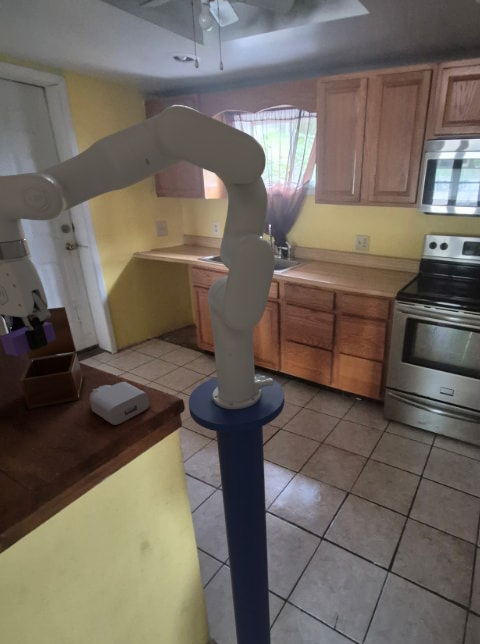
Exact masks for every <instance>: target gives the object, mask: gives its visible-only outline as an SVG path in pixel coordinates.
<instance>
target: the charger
mask: <svg viewBox="0 0 480 644" xmlns="http://www.w3.org/2000/svg"><path fill="white" fill-rule="evenodd" d="M91 391H92V392H91V393H90V394H89V404H90V407H91V411H92V412H93V413H94V414H96V415H97V416H99V417H101V418H102V419H104V420H105V421H107V422H108V423H110V424H111V425H113V426H117V425H120V424H122V423H124V422H126V421H127V420H129V419H131V418H133V417H135V416H137V415H139V414H140V413H142V412H145V411H146V410H147V409H148V408H149V407H150V402H149V396H148V393H147V392H145V391H143V390H141V389H139V388H138V387H136V386H134V385H132V384H130V383H129V382H127V381H120V382H118V383H116V384H113V385H111V384H110V385H109V384H104V385H99V386H98V387H97V388H92V389H91Z"/></svg>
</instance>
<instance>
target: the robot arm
mask: <svg viewBox="0 0 480 644" xmlns="http://www.w3.org/2000/svg"><path fill="white" fill-rule="evenodd" d="M183 162H186V163H188V164H191V165H193V166H196V167H198V168H201V169H203V170H206V171H208V172H210V173H213V174H215V175H216V177H217V178H218V179H219V180H220V181H221V182H222V184H223V185H224V188H225V189H226V193H227V210H226V217H225V223H224V229H223V233H222V238H221V243H220V248H219V258H220V261H221V263H222V264H223V265H224V266H225V268H227V269H228V273H227V275H224V276H221V277H219V278H217V279H216V280H214V281H213V282H212V283H211V285H210V287H209V289H208V292H207V305H208V311H209V315H210V322H211V328H212V337H213V349H214V360H215V370H216V377H217V383H218V387H217V388H216V389H215V390H214V392H213V395H212V396H213V401H214V403H215V404H217V405H218V406H220V407H222V408H226V409H242V408H246V407H249V406H251V405H253V404H255V403H256V402H258V401H259V399H260V398H261V389H262V387H267V386H272V385H273V380H274V379H273V378H271V377H269V378H270V379H265V376H266V375H264V376H261V377H257V378H256V377H255V374H256V372H255V352H254V349H255V348H254V329H253V328H255V327H256V326H257V325H258V324H259V323H260V321H261V320H262V318H263V316H264V313H265V311H266V307H267V304H268V300H269V295H270V290H271V287H272V282H273V278H274V273H275V268H276V257H275V252H274V249H273V247H272V245H271V244H270V243H269V241H268V240H266V239H265V238H264V233H265V227H266V221H267V216H268V207H269V199H268V192H267V187H266V184H265V182H264V179H263V177H262V175H263V174H264V172H265V169H266V164H267V157H266V152H265V150H264V148H263V146H262V144H261V142H259V141H258V140H257V139H256V138H255V137H254V136H253V135H250V134H249V133H247V132H245V131H243V130H241V129H238V128H236V127H234V126H231V125H229V124H228V123H225V122H223V121H220V120H218V119H216V118H214V117H212V116H210V115H207V114H205V113H203V112H201V111H199V110H196V109H194V108H192V107H190V106H186V105H182V104H173V105H170V106H167V107H166V108H165V109H163V110H162V111H161V112H160V113H158V114H156V115H154V116H152V117H149V118H146V119H145V120H142V121H140V122H137V123H136V124H133V125H131V126H129V127H125V128H123V129H121V130H118V131H116V132H113V133H111V134H108V135H106V136H103V137H102V138H99V139H98V140H96V141H95V142H93V143H92V144H91V145H90V146H89V147H88V148H86V149H85V150H84V151H82V152H80V153H78V154H76V155H74V156H73V157H70V158H68V159H66V160H64V161H62V162H59V163H57V164H55V165H52V166H50V167H48V168H45V169H43V170H40V171H38V172H37V171H36V172H25V173H19V174H10V175H2V174H0V316H1V318H2V319H3V320H4V321H5V325H6V327H8V328H9V331H10V332H13V331H15V330H18V329H21V328H24V327H26V328H27V331H25V333H26V337H27V340H28V343H29V346H30V349H31V350H36V349H39V348H41V347H43V346H45V345H47V344H48V342H47V339H46V335H45V332H44V328H43V326H45V323H44V322H45V320H47V319H48V318H50V317H51V314H50V312H49V311H48V309H49V302H48V298H47V294H46V291H45V287H44V285H43V281H42V279H41V277H40V274H39V272H38V269H37V266H36V265H35V263H34V261H33V258H32V256H31V255H32V254H31V251H30V248H29V244H28V241H27V237H26V233H25V230H24V226H23V222H22V220H31V221H51V220H53V219H55V218H57V217H59V216H60V215H61V214H62V213H64V212H66V211H69V210H70V209H73V208H74V207H76V206H79V205H81V204H83V203H86V202H87V201H90V200H92V199H94V198H97V197H100V196H101V195H104V194H107V193H109V192H114V191H120V190H123V189H126V188H129V187H131V186H134V185H136V184H138V183H140V182H142V181H144V180H146V179H149V178H151V177H154V176H155V175H158V174H160V173H161V172H164V171H167V170H168V169H170V168H173V167H175V166H177V165H179V164H182V163H183ZM31 316H35V317H34V318H33V319H32V321H31V319H30V317H31ZM272 379H273V380H272Z"/></svg>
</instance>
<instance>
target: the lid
mask: <svg viewBox="0 0 480 644" xmlns="http://www.w3.org/2000/svg"><path fill="white" fill-rule="evenodd" d="M47 309H48V311H49V312H50V314H51V317H50V318H48V319H47V320H45V322H48V323H52V326H53V330H54V334H55V337H56V340H54V341H51V342H49V343H48V344H47V345H45V346H43V347H41V348H39V349H36V350H30V351H28V352H26V354H27V358H28V359H29V360H32V359H38V358H45V357H52V356H58V355H65V354H72V353H77V348H76V345H75V340H74V337H73V333H72V329H71V325H70V321H69V317H68V314H67V313H68V312H67V309H66V306H61V307H51V308H50V307H49V308H47ZM34 317H35V316H31V317H30V319H31V321H32V319H33V318H34Z"/></svg>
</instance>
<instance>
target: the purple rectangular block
mask: <svg viewBox="0 0 480 644" xmlns="http://www.w3.org/2000/svg"><path fill="white" fill-rule="evenodd" d="M44 323H45V326H43V328H44V332H45V335H46V339H47V342H48V343H49V342H51V341H54V340H56V337H55V334H54V330H53V326H52V323H48V322H44ZM25 331H27V328H26V327H24V328H21V329H18V330H15V331H13V332H11V331H10V332H7V333H5V334H2V335H0V340H1V344H2V346H3V349H4V352H5V354H6V355H10V356H15V357H19V356H21V355H24V354H25V353H26V354H27V352H28V351H30V350H31V349H30V346H29V343H28V340H27V337H26V333H25Z"/></svg>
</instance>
